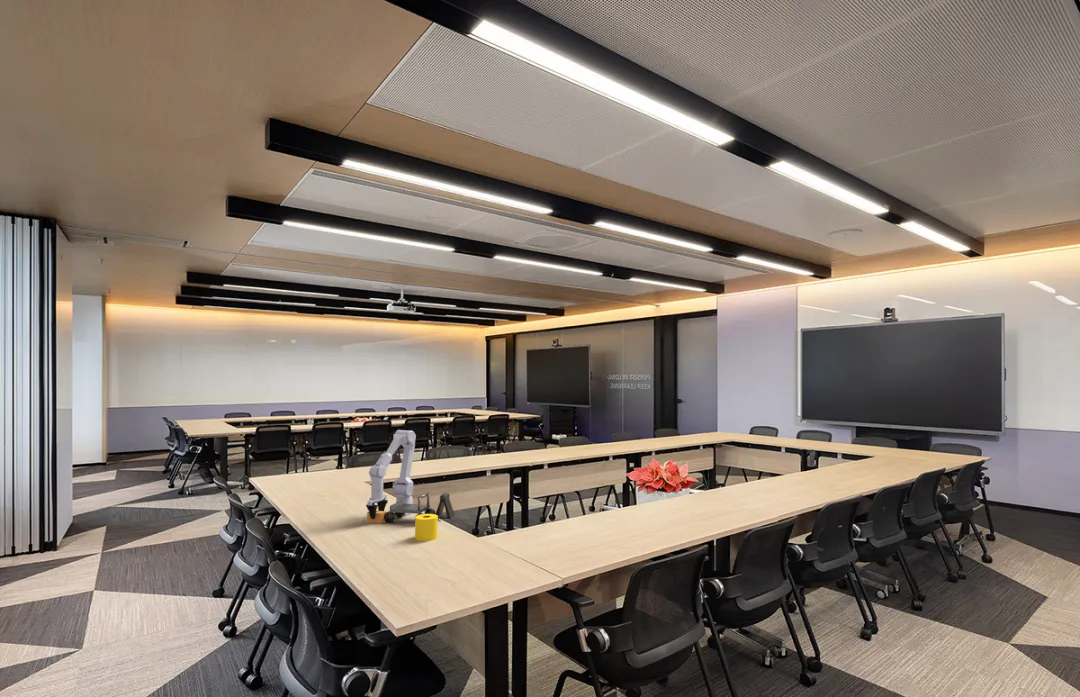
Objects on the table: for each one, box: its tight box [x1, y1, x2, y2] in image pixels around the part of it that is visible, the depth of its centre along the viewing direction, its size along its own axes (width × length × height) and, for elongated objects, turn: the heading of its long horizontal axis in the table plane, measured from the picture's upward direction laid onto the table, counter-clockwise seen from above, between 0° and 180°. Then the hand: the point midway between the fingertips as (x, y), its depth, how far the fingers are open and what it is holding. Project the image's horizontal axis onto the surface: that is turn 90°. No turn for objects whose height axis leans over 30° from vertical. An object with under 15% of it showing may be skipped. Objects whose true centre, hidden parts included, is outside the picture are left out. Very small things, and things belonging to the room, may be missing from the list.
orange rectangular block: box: [366, 510, 387, 524], centre depth 274 cm, size 4×8×5 cm, turn 76°
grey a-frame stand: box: [435, 492, 456, 520], centre depth 282 cm, size 9×6×12 cm, turn 78°
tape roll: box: [414, 513, 439, 542], centre depth 246 cm, size 10×10×9 cm
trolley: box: [384, 492, 436, 524], centre depth 275 cm, size 12×22×14 cm, turn 75°
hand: (376, 516), depth 274 cm, fingers open, 7 cm apart
